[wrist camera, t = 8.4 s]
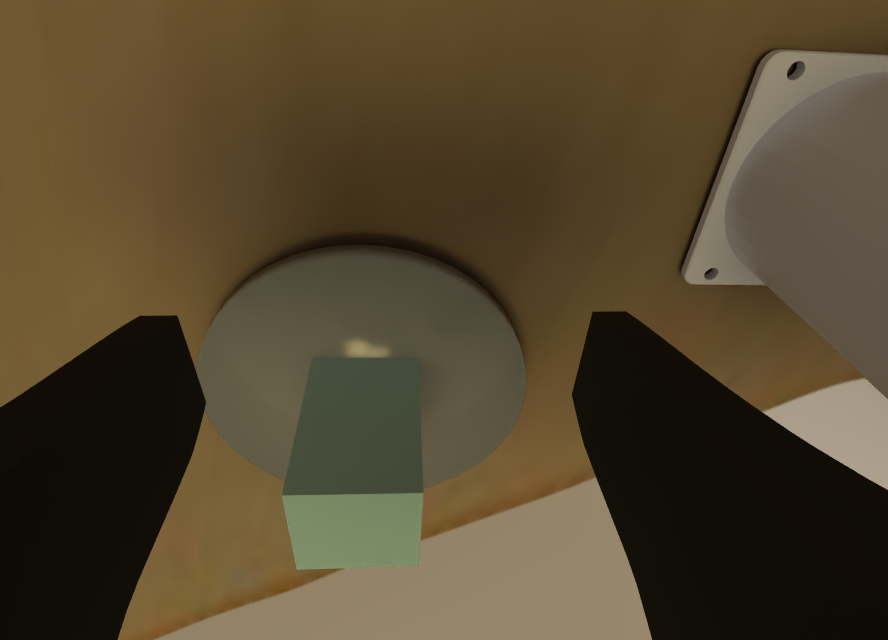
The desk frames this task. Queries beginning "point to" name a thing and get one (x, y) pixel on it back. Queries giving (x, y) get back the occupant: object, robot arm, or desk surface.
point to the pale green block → (357, 466)
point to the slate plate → (363, 351)
